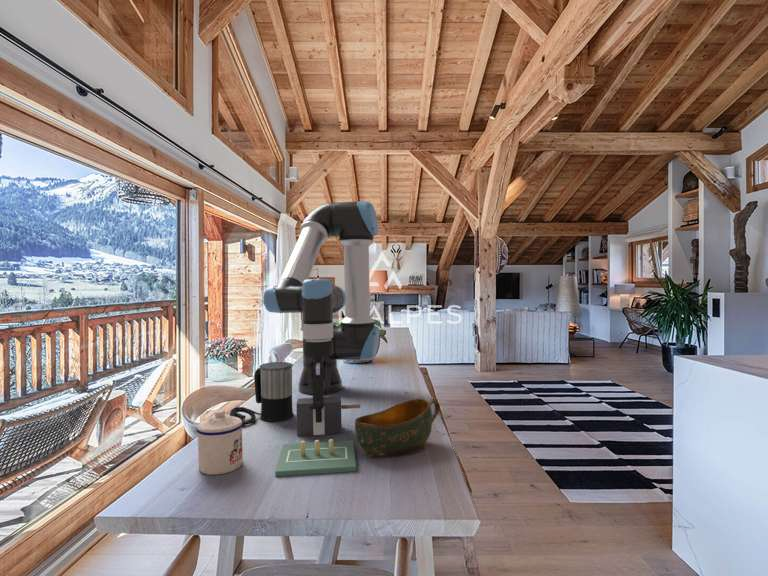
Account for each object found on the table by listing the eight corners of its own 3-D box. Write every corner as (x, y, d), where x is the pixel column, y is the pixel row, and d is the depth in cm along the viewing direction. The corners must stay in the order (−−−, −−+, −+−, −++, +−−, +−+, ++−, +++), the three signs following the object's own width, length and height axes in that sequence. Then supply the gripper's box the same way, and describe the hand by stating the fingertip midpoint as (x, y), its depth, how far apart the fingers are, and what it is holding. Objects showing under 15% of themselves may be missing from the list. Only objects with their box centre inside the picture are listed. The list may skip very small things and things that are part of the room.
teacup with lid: (239, 474, 87) (237, 417, 87) (191, 477, 86) (190, 419, 85) (249, 450, 99) (248, 400, 99) (208, 453, 98) (206, 402, 97)
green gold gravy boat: (449, 459, 93) (447, 412, 92) (355, 462, 92) (354, 415, 92) (439, 437, 106) (438, 396, 105) (357, 440, 105) (356, 398, 105)
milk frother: (300, 413, 125) (299, 362, 125) (265, 432, 110) (264, 374, 110) (260, 408, 130) (259, 359, 130) (222, 425, 116) (220, 370, 115)
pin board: (283, 448, 100) (283, 431, 100) (353, 444, 102) (352, 427, 101) (275, 476, 86) (274, 456, 86) (356, 471, 88) (355, 451, 88)
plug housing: (298, 429, 112) (298, 398, 112) (360, 425, 114) (359, 395, 114) (297, 436, 107) (296, 404, 107) (361, 432, 109) (361, 401, 109)
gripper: (305, 334, 120) (307, 414, 121) (299, 347, 98) (301, 444, 99) (333, 333, 121) (334, 412, 122) (333, 346, 99) (334, 442, 100)
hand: (319, 427), depth 111 cm, fingers open, 9 cm apart
